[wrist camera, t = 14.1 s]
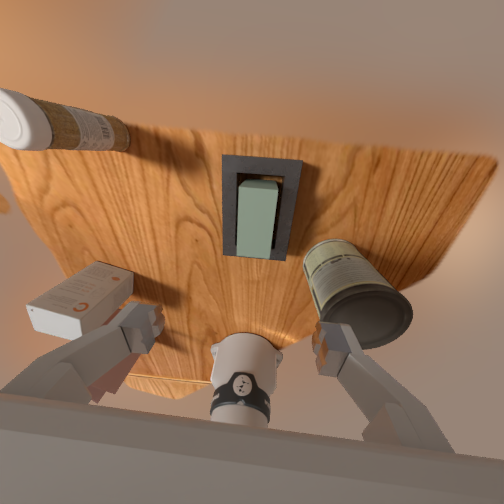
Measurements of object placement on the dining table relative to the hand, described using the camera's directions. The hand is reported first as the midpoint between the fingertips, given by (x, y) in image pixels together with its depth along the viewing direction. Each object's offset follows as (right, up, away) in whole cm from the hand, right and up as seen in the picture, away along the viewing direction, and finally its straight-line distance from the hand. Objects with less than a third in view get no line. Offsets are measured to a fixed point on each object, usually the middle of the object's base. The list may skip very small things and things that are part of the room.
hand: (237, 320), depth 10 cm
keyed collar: (+2, +11, +21) cm, 24 cm away
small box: (-29, -2, +31) cm, 43 cm away
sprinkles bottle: (-19, +21, +18) cm, 34 cm away
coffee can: (+16, +2, +25) cm, 30 cm away
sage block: (+2, +11, +21) cm, 24 cm away
